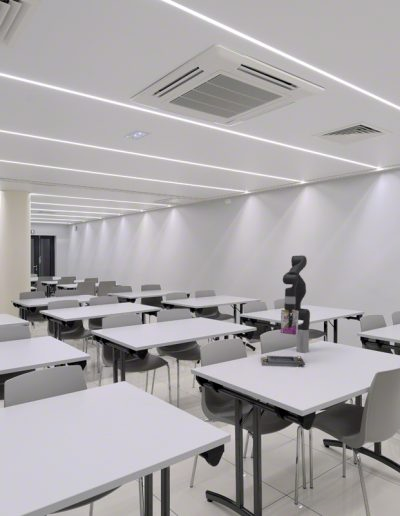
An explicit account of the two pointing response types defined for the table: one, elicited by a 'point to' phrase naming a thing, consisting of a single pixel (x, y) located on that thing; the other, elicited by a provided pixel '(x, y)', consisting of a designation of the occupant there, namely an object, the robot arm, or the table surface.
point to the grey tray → (282, 361)
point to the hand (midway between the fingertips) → (289, 326)
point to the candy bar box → (284, 322)
